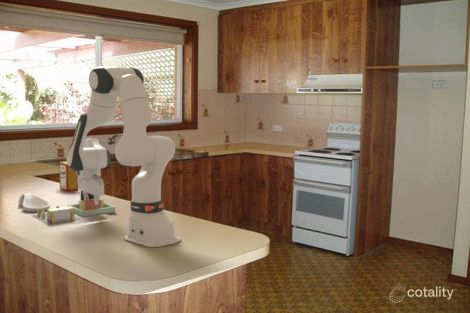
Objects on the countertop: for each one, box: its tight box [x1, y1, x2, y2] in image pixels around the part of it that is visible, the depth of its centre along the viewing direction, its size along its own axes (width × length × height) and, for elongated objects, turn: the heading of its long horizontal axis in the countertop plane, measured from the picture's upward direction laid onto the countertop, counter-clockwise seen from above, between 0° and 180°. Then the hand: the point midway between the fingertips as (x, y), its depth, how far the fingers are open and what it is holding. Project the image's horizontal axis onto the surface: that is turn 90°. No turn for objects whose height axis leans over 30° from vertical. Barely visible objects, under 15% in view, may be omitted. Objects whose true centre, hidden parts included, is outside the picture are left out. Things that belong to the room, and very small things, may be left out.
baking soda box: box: [58, 161, 79, 192], centre depth 272 cm, size 10×6×16 cm
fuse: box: [78, 198, 104, 211], centre depth 220 cm, size 4×10×5 cm, turn 132°
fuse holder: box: [31, 205, 81, 226], centre depth 206 cm, size 19×14×6 cm
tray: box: [66, 201, 116, 217], centre depth 220 cm, size 16×16×3 cm
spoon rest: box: [18, 192, 52, 213], centre depth 223 cm, size 24×12×7 cm, turn 44°
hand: (91, 202), depth 220 cm, fingers open, 8 cm apart
